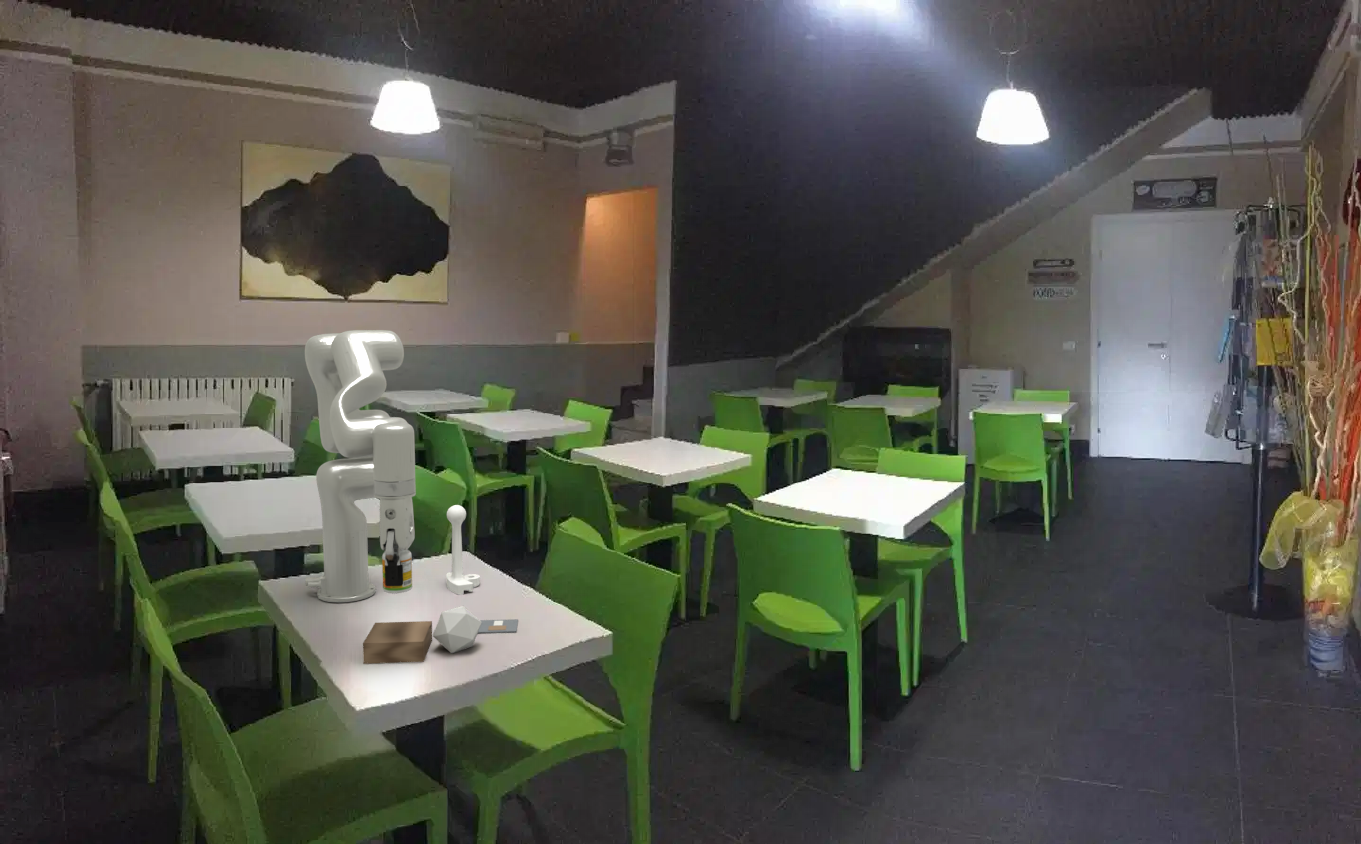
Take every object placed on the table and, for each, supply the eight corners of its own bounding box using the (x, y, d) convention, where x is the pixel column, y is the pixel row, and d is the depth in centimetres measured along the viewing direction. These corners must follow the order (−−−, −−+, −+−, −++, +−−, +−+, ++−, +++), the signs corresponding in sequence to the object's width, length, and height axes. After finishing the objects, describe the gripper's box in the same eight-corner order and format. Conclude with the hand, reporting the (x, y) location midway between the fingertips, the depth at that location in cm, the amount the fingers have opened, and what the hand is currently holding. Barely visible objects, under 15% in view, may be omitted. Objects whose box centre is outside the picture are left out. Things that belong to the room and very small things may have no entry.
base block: (363, 663, 168) (362, 643, 168) (375, 641, 179) (375, 622, 179) (423, 661, 170) (423, 641, 169) (432, 640, 181) (431, 621, 180)
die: (464, 639, 183) (434, 606, 180) (495, 624, 180) (465, 590, 177) (449, 667, 176) (417, 633, 173) (481, 653, 173) (449, 618, 170)
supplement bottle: (384, 586, 175) (382, 537, 174) (413, 584, 176) (411, 536, 175) (382, 595, 170) (380, 544, 168) (411, 593, 171) (410, 543, 170)
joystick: (442, 582, 218) (441, 501, 215) (473, 578, 221) (472, 498, 219) (453, 595, 208) (452, 511, 206) (485, 591, 212) (485, 508, 209)
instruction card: (476, 633, 185) (476, 631, 185) (480, 621, 192) (480, 619, 191) (516, 632, 186) (516, 630, 186) (518, 620, 193) (518, 618, 192)
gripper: (407, 497, 162) (409, 594, 165) (422, 479, 179) (424, 567, 182) (364, 497, 161) (367, 595, 164) (383, 479, 178) (385, 568, 181)
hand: (397, 579), depth 173 cm, fingers closed on supplement bottle, 5 cm apart
